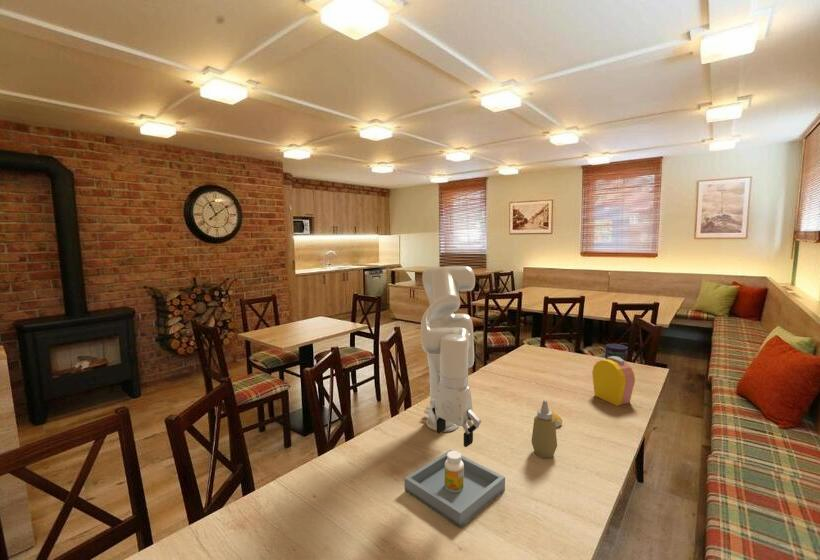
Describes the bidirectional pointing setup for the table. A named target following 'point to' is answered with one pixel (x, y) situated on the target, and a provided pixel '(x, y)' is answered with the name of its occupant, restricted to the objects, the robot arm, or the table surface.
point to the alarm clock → (613, 380)
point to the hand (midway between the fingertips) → (454, 437)
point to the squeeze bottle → (544, 432)
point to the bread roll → (557, 419)
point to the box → (455, 505)
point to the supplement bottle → (454, 472)
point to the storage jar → (616, 351)
